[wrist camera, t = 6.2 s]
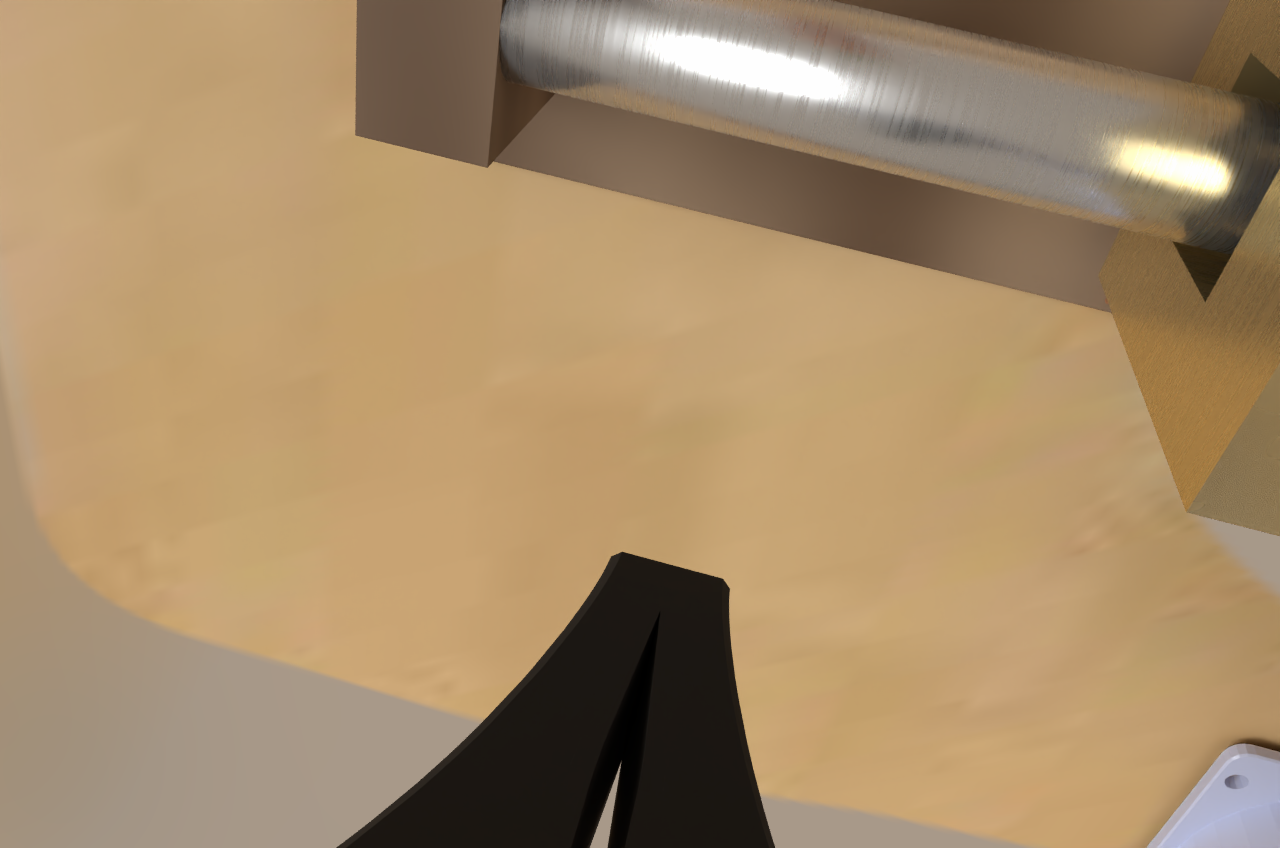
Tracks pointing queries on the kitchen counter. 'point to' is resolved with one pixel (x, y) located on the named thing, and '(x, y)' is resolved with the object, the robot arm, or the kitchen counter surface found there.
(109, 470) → the kitchen counter surface
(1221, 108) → the pipe
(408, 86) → the slider rail
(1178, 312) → the brushed brass square block
